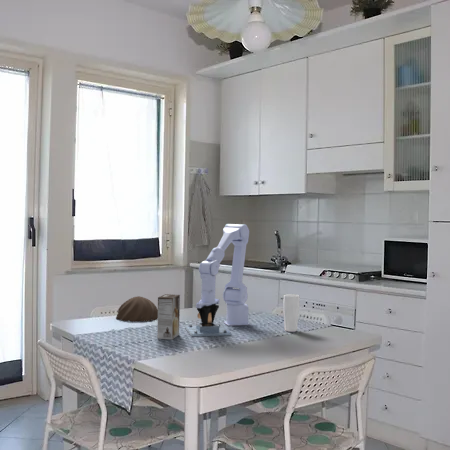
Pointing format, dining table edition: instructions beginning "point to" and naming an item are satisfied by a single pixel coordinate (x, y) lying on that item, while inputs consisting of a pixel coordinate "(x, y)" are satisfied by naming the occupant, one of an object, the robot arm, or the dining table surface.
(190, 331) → the flange plate
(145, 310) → the decorative dome
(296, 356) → the dining table surface
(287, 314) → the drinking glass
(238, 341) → the dining table surface
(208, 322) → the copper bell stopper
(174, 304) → the coffee box
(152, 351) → the dining table surface
